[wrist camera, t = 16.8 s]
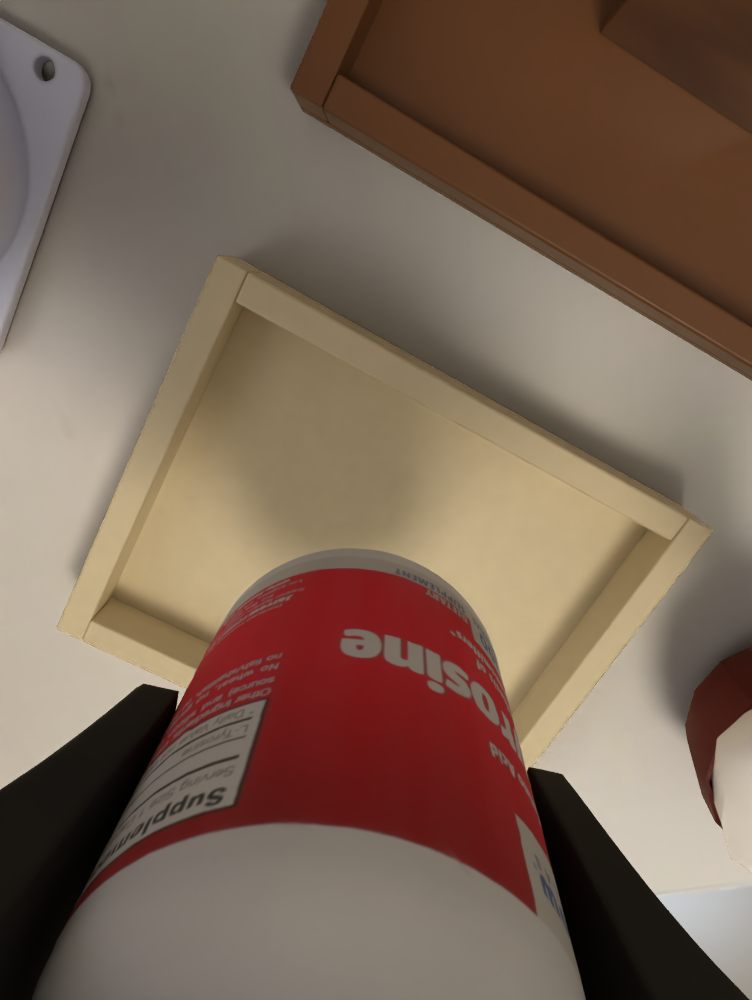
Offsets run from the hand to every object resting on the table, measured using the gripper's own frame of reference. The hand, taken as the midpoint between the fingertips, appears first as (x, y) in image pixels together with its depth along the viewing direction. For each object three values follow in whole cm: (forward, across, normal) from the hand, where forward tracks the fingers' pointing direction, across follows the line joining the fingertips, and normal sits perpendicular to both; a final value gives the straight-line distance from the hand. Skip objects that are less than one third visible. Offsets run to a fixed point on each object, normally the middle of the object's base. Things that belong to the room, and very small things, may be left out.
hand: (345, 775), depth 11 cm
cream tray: (+9, 0, 0) cm, 9 cm away
